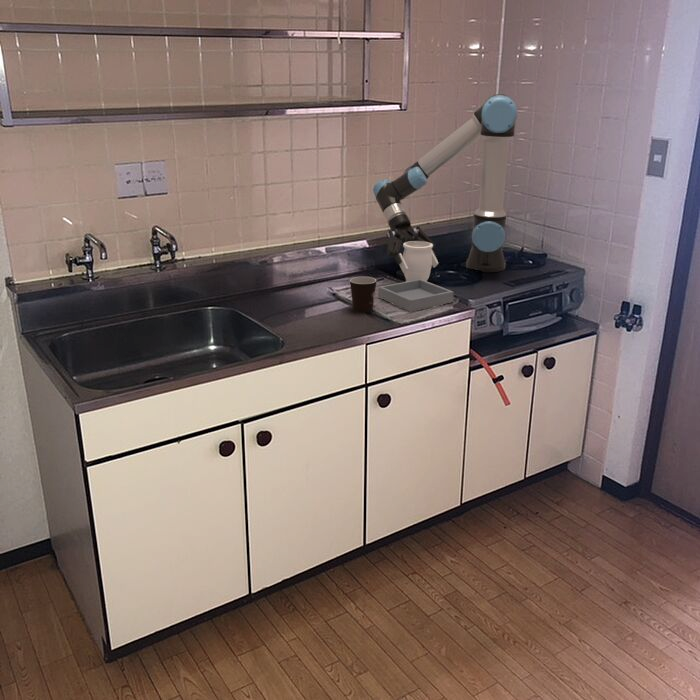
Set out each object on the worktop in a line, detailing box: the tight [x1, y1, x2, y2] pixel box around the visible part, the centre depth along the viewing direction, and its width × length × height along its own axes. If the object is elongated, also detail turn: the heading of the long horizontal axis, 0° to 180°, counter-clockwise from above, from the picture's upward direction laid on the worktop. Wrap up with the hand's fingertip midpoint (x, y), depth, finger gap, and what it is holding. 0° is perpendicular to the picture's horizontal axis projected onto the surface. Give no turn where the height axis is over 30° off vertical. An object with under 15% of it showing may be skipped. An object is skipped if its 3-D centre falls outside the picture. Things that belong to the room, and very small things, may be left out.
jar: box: [402, 241, 433, 282], centre depth 275 cm, size 11×10×15 cm
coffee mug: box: [349, 276, 377, 314], centre depth 250 cm, size 12×9×10 cm
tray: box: [378, 279, 454, 313], centre depth 260 cm, size 18×18×4 cm
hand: (421, 268), depth 274 cm, fingers open, 13 cm apart
